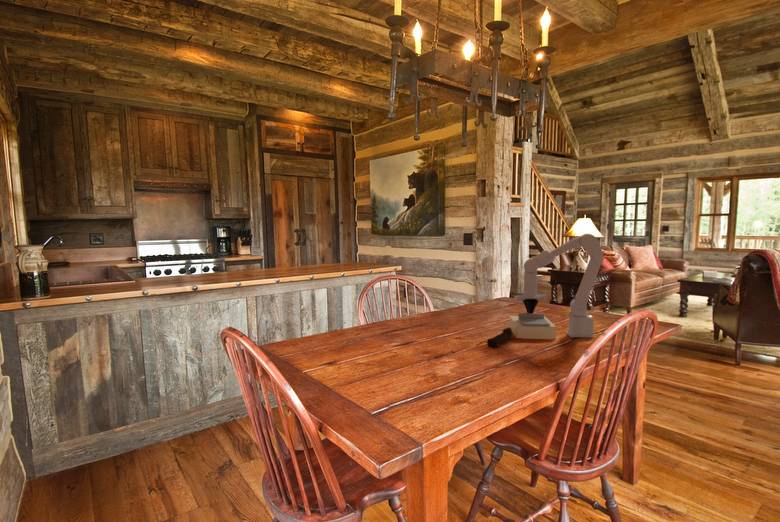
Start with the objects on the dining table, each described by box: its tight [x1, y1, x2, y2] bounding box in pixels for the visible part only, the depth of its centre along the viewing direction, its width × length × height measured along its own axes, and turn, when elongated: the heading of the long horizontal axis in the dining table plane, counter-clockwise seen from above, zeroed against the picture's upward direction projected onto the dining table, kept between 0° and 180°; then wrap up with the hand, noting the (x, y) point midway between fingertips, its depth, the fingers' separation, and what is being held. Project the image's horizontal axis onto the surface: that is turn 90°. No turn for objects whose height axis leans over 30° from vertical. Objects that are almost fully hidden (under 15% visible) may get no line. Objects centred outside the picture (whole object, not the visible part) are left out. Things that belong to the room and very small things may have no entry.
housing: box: [509, 315, 557, 340], centre depth 178 cm, size 16×18×6 cm
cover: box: [517, 312, 550, 326], centre depth 174 cm, size 11×11×3 cm
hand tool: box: [486, 327, 513, 349], centre depth 165 cm, size 19×4×5 cm, turn 137°
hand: (530, 315), depth 180 cm, fingers closed
